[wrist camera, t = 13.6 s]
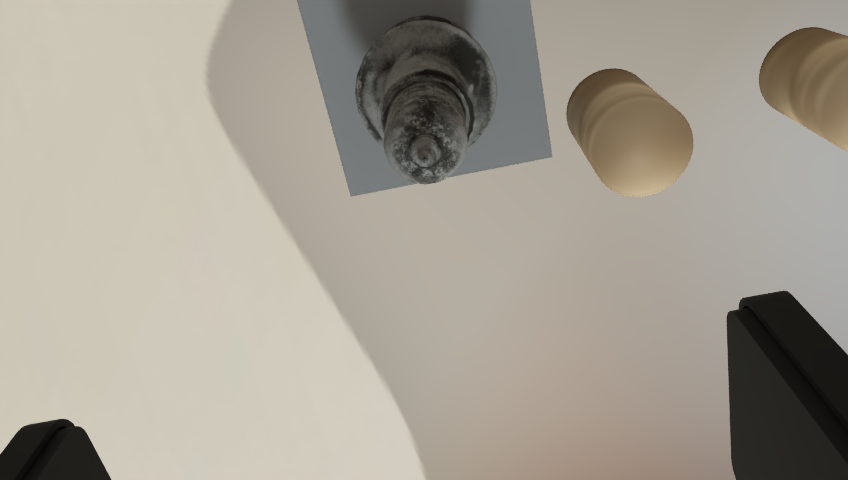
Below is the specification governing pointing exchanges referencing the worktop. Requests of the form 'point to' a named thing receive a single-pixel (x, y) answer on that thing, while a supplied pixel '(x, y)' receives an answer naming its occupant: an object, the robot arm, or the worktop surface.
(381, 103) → the salt shaker
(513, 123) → the coaster
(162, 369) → the worktop surface
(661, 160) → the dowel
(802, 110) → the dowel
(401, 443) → the worktop surface
